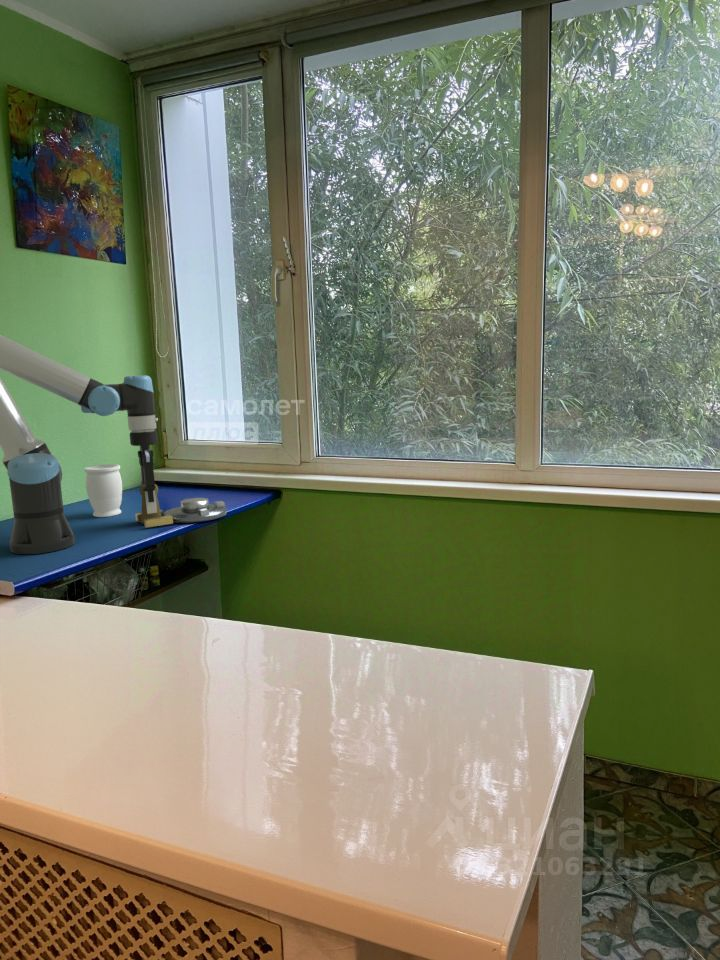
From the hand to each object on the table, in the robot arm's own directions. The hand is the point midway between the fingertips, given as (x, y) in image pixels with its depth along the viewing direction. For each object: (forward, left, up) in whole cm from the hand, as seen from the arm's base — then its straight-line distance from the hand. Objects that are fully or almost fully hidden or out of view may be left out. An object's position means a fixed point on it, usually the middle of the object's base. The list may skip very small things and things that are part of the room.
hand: (151, 511), depth 203 cm
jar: (-7, +22, -4) cm, 23 cm away
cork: (0, -1, -3) cm, 3 cm away
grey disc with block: (+9, -2, -3) cm, 10 cm away
